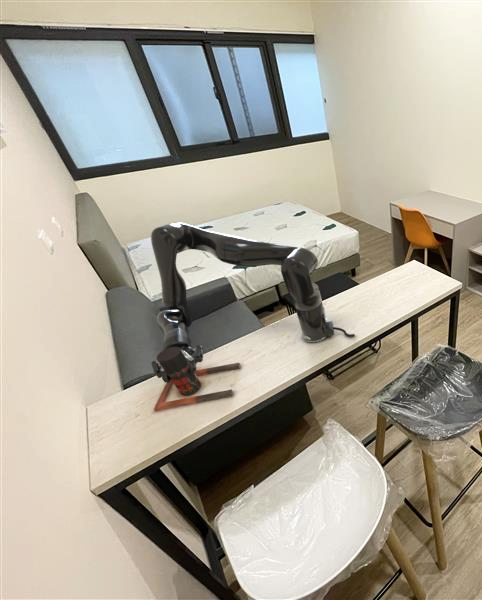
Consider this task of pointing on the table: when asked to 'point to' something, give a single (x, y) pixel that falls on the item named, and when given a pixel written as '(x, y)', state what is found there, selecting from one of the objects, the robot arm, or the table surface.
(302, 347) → the table surface
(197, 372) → the brown angled rods
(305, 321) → the robot arm
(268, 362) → the table surface
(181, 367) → the deodorant
